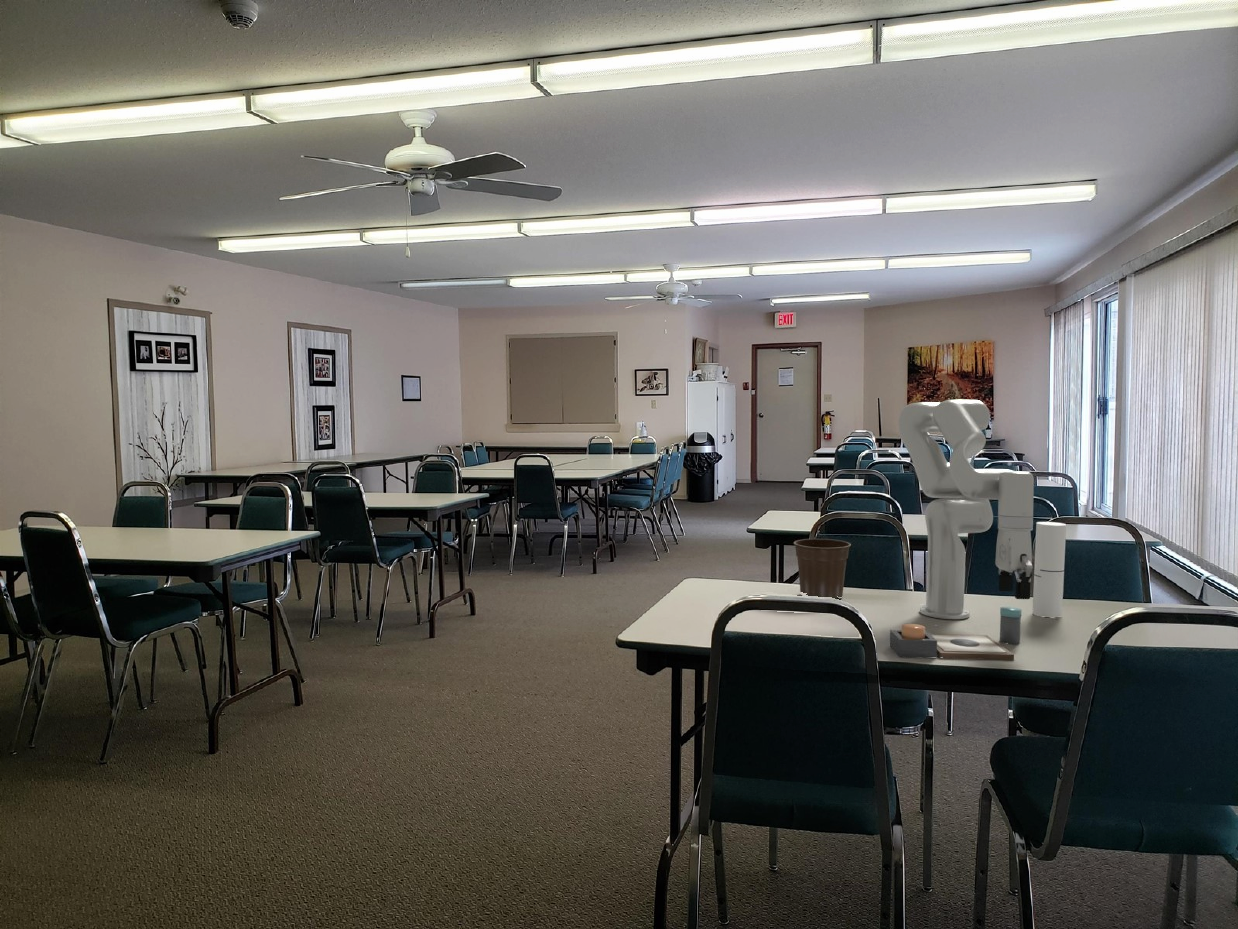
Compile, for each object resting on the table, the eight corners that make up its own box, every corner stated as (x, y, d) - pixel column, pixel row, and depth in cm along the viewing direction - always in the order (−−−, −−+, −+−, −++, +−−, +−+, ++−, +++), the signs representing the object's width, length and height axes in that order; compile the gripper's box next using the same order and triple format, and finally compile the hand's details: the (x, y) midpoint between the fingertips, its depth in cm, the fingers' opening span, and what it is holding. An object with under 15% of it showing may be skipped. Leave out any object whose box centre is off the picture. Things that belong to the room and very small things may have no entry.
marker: (996, 639, 203) (997, 606, 203) (1015, 639, 203) (1016, 607, 203) (1003, 644, 199) (1004, 611, 198) (1023, 644, 198) (1024, 611, 198)
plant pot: (800, 603, 239) (801, 547, 237) (786, 590, 255) (787, 538, 254) (856, 603, 239) (858, 547, 238) (839, 591, 255) (841, 538, 254)
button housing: (889, 646, 196) (890, 629, 196) (925, 647, 195) (925, 630, 195) (899, 657, 188) (899, 639, 187) (936, 658, 187) (937, 640, 187)
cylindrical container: (1054, 619, 223) (1059, 526, 221) (1027, 614, 228) (1031, 523, 226) (1066, 615, 227) (1070, 524, 225) (1039, 610, 233) (1043, 521, 231)
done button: (898, 638, 194) (899, 623, 194) (920, 638, 194) (921, 624, 193) (904, 644, 189) (905, 629, 189) (927, 645, 189) (928, 629, 188)
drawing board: (919, 638, 203) (919, 632, 203) (986, 640, 202) (986, 634, 202) (940, 658, 187) (940, 651, 187) (1013, 660, 186) (1014, 653, 186)
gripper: (985, 519, 208) (984, 588, 208) (1014, 527, 190) (1012, 602, 191) (1016, 519, 207) (1014, 588, 208) (1047, 527, 190) (1046, 602, 191)
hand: (1013, 594), depth 199 cm, fingers open, 9 cm apart
